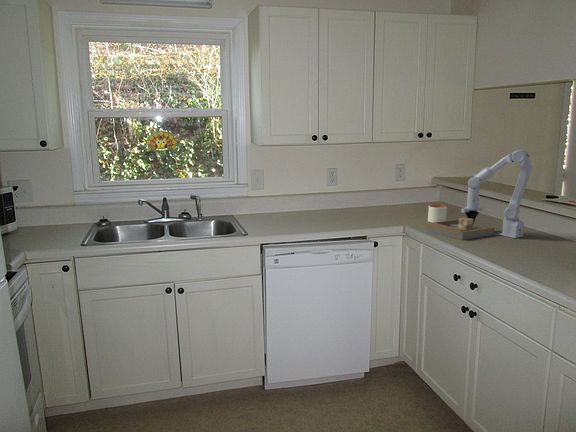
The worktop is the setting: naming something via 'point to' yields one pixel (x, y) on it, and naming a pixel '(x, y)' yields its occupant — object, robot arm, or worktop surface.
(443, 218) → the cup
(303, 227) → the worktop surface
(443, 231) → the trap board
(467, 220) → the block
